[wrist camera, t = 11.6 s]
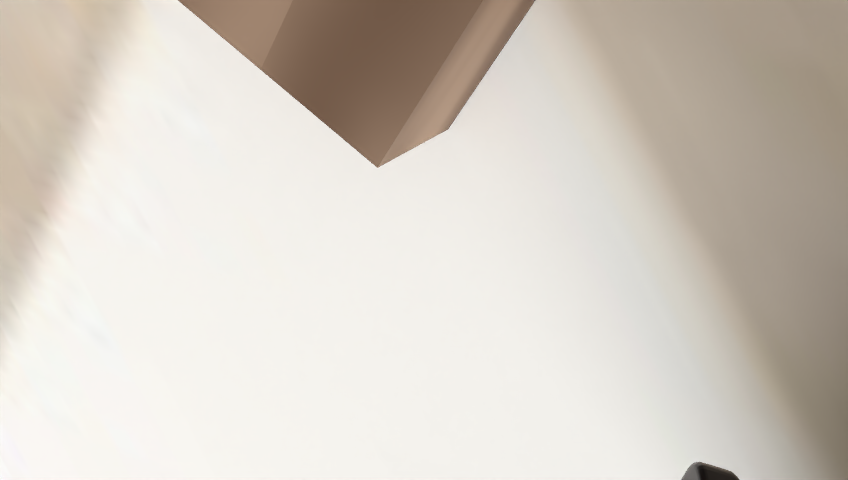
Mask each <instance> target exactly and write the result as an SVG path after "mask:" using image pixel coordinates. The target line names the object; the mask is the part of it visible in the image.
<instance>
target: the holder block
mask: <svg viewBox="0 0 848 480" xmlns="http://www.w3.org/2000/svg"><path fill="white" fill-rule="evenodd" d="M178 1H179V2H181V3H182V4H183V5H184V6H185V7H187V8H188V9H189V10H190V11H191V12H193V13H194V14H195V15H196V16H197V17H199V18H200V19H201V20H202V21H203V22H205V23H206V24H207V25H208V26H209V27H210V28H212V29H213V30H214V31H215V32H216V33H218V34H219V35H220V36H221V37H222V38H224V39H225V40H226V41H227V42H228V43H230V44H231V45H232V46H233V47H234V48H235V49H237V50H238V51H239V52H240V53H241V54H243V55H244V56H245V57H246V58H247V59H249V60H250V61H251V62H252V63H253V64H255V65H256V66H257V67H258V68H259V69H261V70H262V71H263V72H264V73H265V74H266V75H268V76H269V77H270V78H271V79H272V80H274V81H275V82H276V83H277V84H278V85H280V86H281V87H282V88H283V89H284V90H286V91H287V92H288V93H289V94H290V95H292V96H293V97H294V98H295V99H296V100H297V101H299V102H300V103H301V104H302V105H303V106H305V107H306V108H307V109H308V110H309V111H311V112H312V113H313V114H314V115H315V116H317V117H318V118H319V119H320V120H321V121H322V122H324V123H325V124H326V125H327V126H328V127H330V128H331V129H332V130H333V131H334V132H336V133H337V134H338V135H339V136H340V137H342V138H343V139H344V140H345V141H346V142H348V143H349V144H350V145H351V146H352V147H353V148H355V149H356V150H357V151H358V152H359V153H361V154H362V155H363V156H364V157H365V158H367V159H368V160H369V161H370V162H371V163H373V164H374V165H375V166H376V167H377V168H378V167H380V166H381V165H383V164H385V163H387V162H389V161H391V160H392V159H394V158H396V157H398V156H400V155H402V154H403V153H405V152H407V151H409V150H411V149H413V148H414V147H416V146H418V145H420V144H422V143H424V142H425V141H427V140H429V139H431V138H433V137H435V136H436V135H438V134H440V133H442V132H444V131H446V130H448V129H449V127H450V126H451V124H452V123H453V121H454V120H455V118H456V117H457V115H458V114H459V112H460V111H461V109H462V108H463V106H464V105H465V103H466V102H467V100H468V99H469V97H470V96H471V95H472V93H473V92H474V90H475V89H476V87H477V86H478V84H479V83H480V81H481V80H482V78H483V77H484V75H485V74H486V72H487V71H488V69H489V68H490V66H491V65H492V63H493V62H494V61H495V59H496V58H497V56H498V55H499V53H500V52H501V50H502V49H503V47H504V46H505V44H506V43H507V41H508V40H509V38H510V37H511V35H512V34H513V32H514V31H515V29H516V28H517V27H518V25H519V24H520V22H521V21H522V19H523V18H524V16H525V15H526V13H527V12H528V10H529V9H530V7H531V6H532V4H533V3H534V1H535V0H178Z"/></svg>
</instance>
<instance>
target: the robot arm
mask: <svg viewBox="0 0 848 480" xmlns="http://www.w3.org/2000/svg"><path fill="white" fill-rule="evenodd" d="M681 480H739V479H738V477H737V476H736V475H735V474H734V473H732V472H731V471H729V470H725V469H722V468H719V467H715V466H712V465H709V464H706V463H702V462H696V463H693V464H692V465H691V466H690V467H689V468H688V469H687V471H686V473H685V474H684V476H683V478H682V479H681Z"/></svg>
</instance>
